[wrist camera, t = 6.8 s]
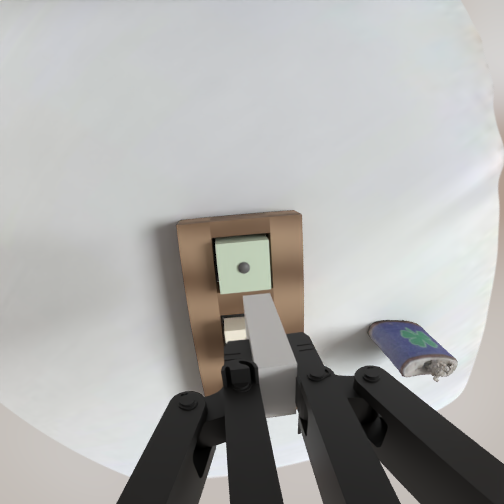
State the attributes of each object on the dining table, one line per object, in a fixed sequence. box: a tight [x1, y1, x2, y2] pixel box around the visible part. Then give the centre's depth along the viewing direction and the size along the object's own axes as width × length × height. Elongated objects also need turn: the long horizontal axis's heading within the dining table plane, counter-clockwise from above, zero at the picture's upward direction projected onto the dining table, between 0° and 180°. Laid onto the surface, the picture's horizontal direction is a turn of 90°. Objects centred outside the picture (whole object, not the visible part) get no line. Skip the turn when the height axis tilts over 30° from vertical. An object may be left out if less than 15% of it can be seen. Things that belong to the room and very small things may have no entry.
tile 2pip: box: [224, 316, 247, 343], centre depth 28 cm, size 4×4×3 cm
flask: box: [368, 320, 457, 382], centre depth 29 cm, size 9×3×11 cm, turn 76°
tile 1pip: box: [215, 234, 271, 294], centre depth 27 cm, size 4×4×3 cm
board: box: [176, 210, 304, 409], centre depth 30 cm, size 23×11×3 cm, turn 4°
